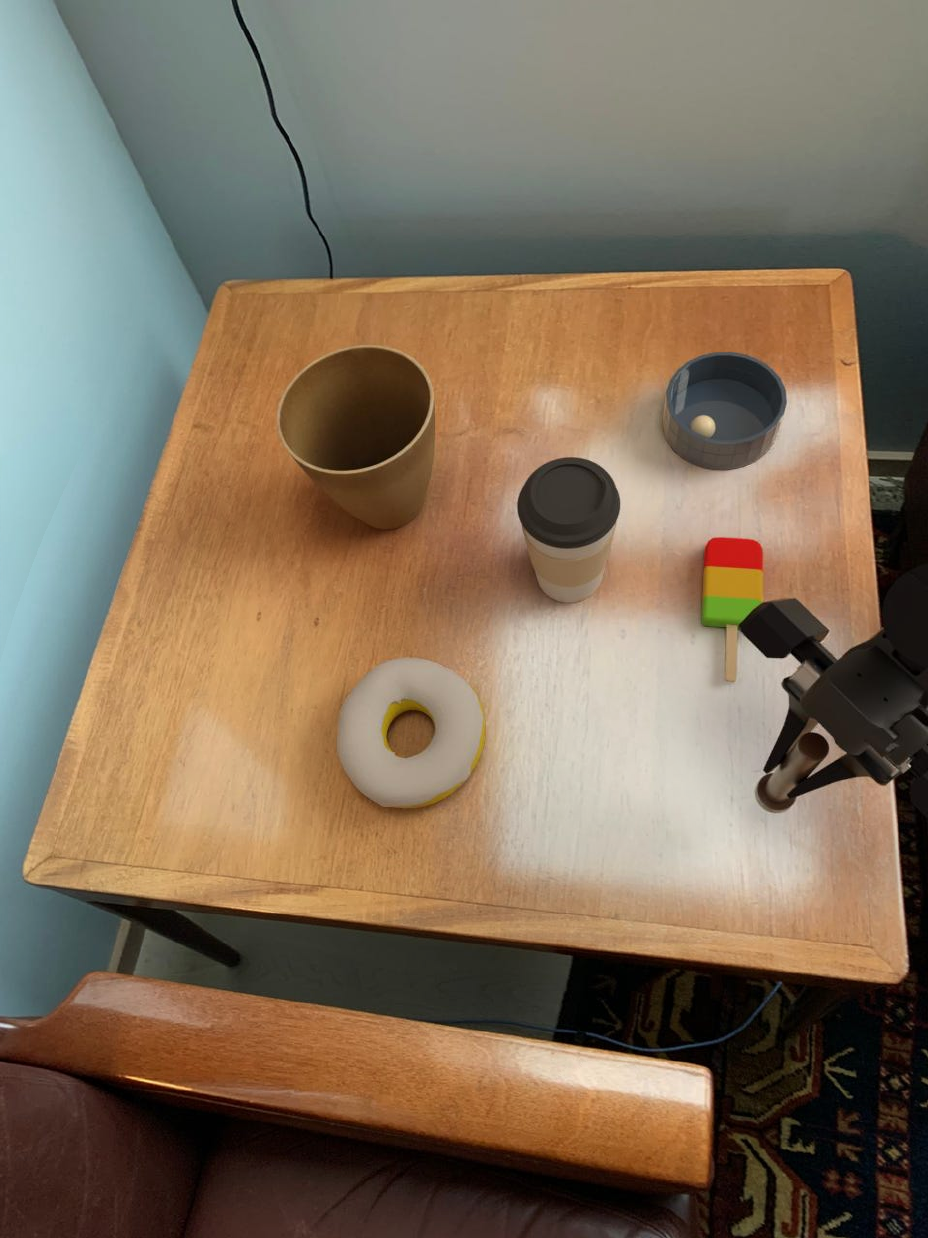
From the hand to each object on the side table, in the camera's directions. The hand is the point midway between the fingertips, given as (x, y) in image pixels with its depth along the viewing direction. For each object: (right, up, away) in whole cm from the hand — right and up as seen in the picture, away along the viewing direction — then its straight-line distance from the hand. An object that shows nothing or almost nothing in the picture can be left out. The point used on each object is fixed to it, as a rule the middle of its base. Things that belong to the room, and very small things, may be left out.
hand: (777, 783), depth 63 cm
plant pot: (-31, +25, +31) cm, 50 cm away
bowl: (+5, +33, +30) cm, 45 cm away
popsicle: (+3, +13, +21) cm, 25 cm away
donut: (-28, 0, +19) cm, 34 cm away
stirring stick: (+2, -2, +6) cm, 7 cm away
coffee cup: (-12, +17, +25) cm, 32 cm away
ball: (+2, +32, +28) cm, 43 cm away
